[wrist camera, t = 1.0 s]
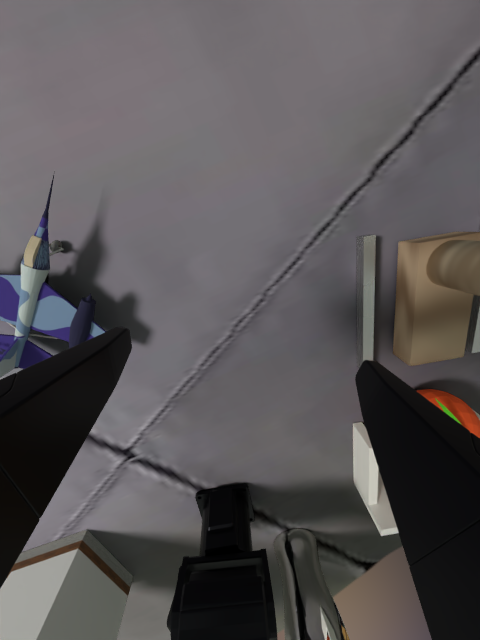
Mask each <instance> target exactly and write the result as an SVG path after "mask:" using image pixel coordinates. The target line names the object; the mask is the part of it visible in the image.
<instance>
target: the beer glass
mask: <svg viewBox="0 0 480 640" xmlns="http://www.w3.org/2000/svg"><path fill="white" fill-rule="evenodd" d="M274 551H275V555H276V558H277V561H278V565H279V568H280V572H281V578H282V585H283V601H284V628H285V640H350V639H349V636H348V634H347V631H346V628H345V626H344V623H343V621H342V618H341V616H340V614H339V611H338V609H337V606H336V604H335V602H334V599H333V597H332V595H331V593H330V590H329V588H328V585H327V583H326V580H325V578H324V575H323V572H322V568H321V564H320V559H319V553H318V546H317V540H316V537H315V535H314V534H313V533H312V532H310V531H308V530H305V529H291V530H287V531H285V532H283V533H281V534H280V535H279V536H278V537H277V538H276V539H275V541H274Z"/></svg>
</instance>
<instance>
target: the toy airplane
mask: <svg viewBox="0 0 480 640" xmlns="http://www.w3.org/2000/svg"><path fill="white" fill-rule="evenodd" d="M54 172H55V171H54ZM53 178H54V176H53ZM52 185H53V180H52V184H51V188H50V192H49V197H48V201H47V205H46V209H45V211H44V214H43V216H42V219H41V222H40V224H39V227H38V229H37V231H36V232H35V234H34V235H32V237H31V239H30V241H29V243H28V245H27V247H26V250H25V253H24V257H23V259H22V261H21V275H3V274H0V320H2V321H5V322H7V323H8V324H9V325H11V326H12V327H13V328H15V329H16V330H15V335H4V334H0V377H2V376H3V375H5V374H6V373H8V372H10V371H11V370H13V369H14V368H18V367H19V368H23V369H25V368H27V367H30V366H32V365H34V364H36V363H39V362H41V361H43V360H45V359H47V358H50V357H52V356H53V355H51V354H50V353H48V352H46V351H45V350H43V349H41V348H40V347H38V346H37V345H35V344H33V343H32V342H30V341H29V340H28V336H29V335H30V336H38V337H45V338H53V339H62V340H65V341H68V342H69V348H72V347H74V346H76V345H78V344H81V343H83V342H85V341H87V340H89V339H92V338H94V337H96V336H98V335H100V334H103V333H105V332H107V331H105V330H104V329H103V328H102V327H100V326H99V325H98V324H97V323H95V322H94V312H95V304H96V301H95V300H94V299H92V296H91V294H90V295H89V296H88V297H87V298H86V297H84V298H82V299H81V302H80V304H79V307H78V308H77V307H75V306H74V305H73V304H72V303H70V302H69V301H68V300H67V299H65V298H64V297H63V296H62V295H60V294H59V293H58V292H57V291H55V290H54V289H53V288H52V287H50V286H49V285H48V279H49V277H48V272H49V270H50V262H49V256H51V255H53V254H55V253H58V252H60V251H61V250H62V251H63V248H62V243H61V242H60V241H58V240H55V241H53V242H52V244H49V241H48V210H49V204H50V197H51V191H52ZM49 246H50V249H51V251H52V253H50V254H49ZM13 324H14V325H13ZM15 325H16V326H15ZM30 329H33V330H36V331H39V332H42V333H44V334H47V335H50V336H45V335H38V334H31V333H30Z"/></svg>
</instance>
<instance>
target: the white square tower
mask: <svg viewBox="0 0 480 640" xmlns="http://www.w3.org/2000/svg"><path fill="white" fill-rule="evenodd" d="M132 579H133V576H132V575H131V574H130V573H129V572H128V571H127V570H126V569H125V568H124V567H123V566H122V565H121V564H120V562H119V561H118V560H117V559H116V558H115V557H114V556H113V555H112V554H111V553H110V552H109V551H108V550H107V549H106V548H105V547H104V546H103V545H102V544H101V543H100V542H99V541H98V540H97V539H96V538H95V537H94V536H93V535H92V534H91V533H90V532H89V531H88V530H84V531H81V532H79V533H76V534H73V535H70V536H67V537H64V538H62V539H59V540H56V541H53V542H50V543H47V544H45V545H42V546H39V547H36V548H33V549H30V550H27V551H25V552H22V553H20V555H19V557H18V559H17V560H16V562H15V564H14V566H13V567H12V569H11V571H10V573H9V574H8V576H7V579H6V581H5V582H4V584H3V585H2V587H1V589H0V640H117V636H118V632H119V628H120V625H121V621H122V617H123V613H124V609H125V606H126V602H127V598H128V594H129V591H130V587H131V583H132Z"/></svg>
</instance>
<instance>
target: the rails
mask: <svg viewBox="0 0 480 640" xmlns="http://www.w3.org/2000/svg"><path fill="white" fill-rule="evenodd" d="M479 232H480V228H479ZM375 248H376V235H363V236H357V367H358V368H360V366H361V364H362V363H363V361H364V360H372V361H373V341H374V294H375ZM465 350H466V351H468V352H470V353H476V352H480V296H478V295H473V301H472V308H471V314H470V320H469V326H468V332H467V339H466V345H465Z"/></svg>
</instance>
